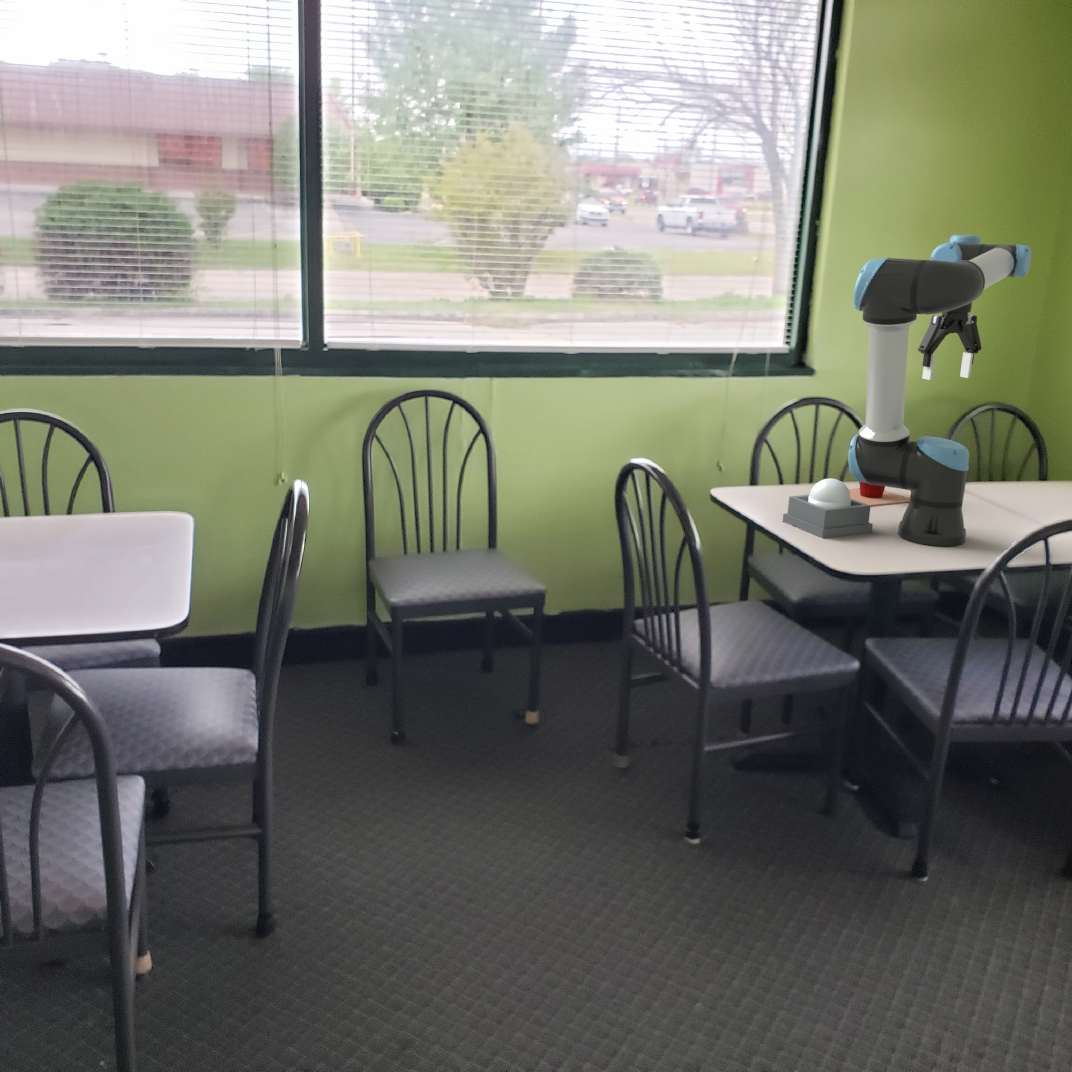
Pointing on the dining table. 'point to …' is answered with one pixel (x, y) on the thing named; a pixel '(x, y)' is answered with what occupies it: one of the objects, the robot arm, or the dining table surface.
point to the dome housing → (828, 517)
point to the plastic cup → (871, 490)
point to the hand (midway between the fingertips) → (946, 378)
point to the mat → (884, 500)
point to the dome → (830, 494)
